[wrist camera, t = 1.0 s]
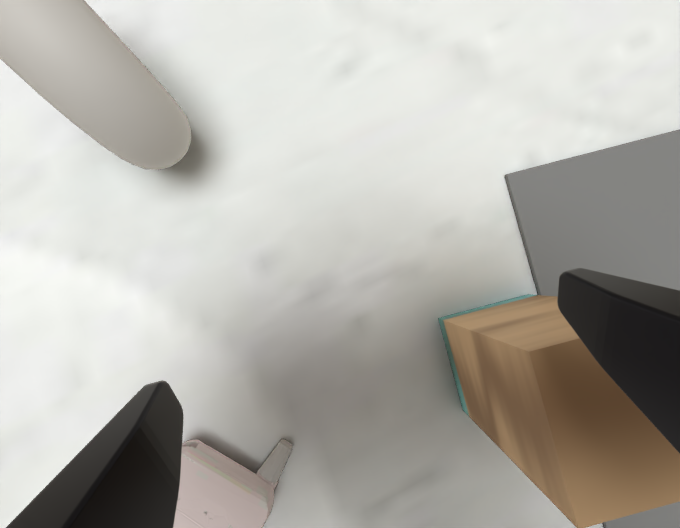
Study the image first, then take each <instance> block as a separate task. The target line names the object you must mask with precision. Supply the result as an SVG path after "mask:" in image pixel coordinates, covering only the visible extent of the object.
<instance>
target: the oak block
mask: <svg viewBox="0 0 680 528" xmlns="http://www.w3.org/2000/svg"><path fill="white" fill-rule="evenodd" d="M557 298H558V297H557V296H543V295H529V294H528V295H524V296H520V297H517V298H513V299H509V300H505V301H501V302H498V303H494V304H490V305H486V306H483V307H479V308H475V309H471V310H467V311H464V312H460V313H456V314H452V315H448V316H445V317H441V318H438V319H439V323H440V327H441V330H442V334H443V338H444V342H445V345H446V349H447V353H448V356H449V360H450V364H451V367H452V371H453V375H454V379H455V382H456V386H457V390H458V393H459V397H460V401H461V404H462V408H463V411H464V412H465V413H466V414H467V415H468V416H469V417H470V418H471V419H472V420H473V421H474V422H475V423H476V424H477V425H478V426H479V427H480V428H481V429H482V430H483V431H484V432H485V433H486V434H487V435H488V436H489V437H490V438H491V440H492V441H493V442H494V443H495V444H496V445H497V446H498V447H499V448H500V449H501V450H502V451H503V452H504V453H505V454H506V455H507V456H508V457H509V458H510V459H511V460H512V461H513V462H514V463H515V464H516V465H517V466H518V467H519V468H520V469H521V470H522V471H523V473H524V474H525V475H526V476H527V477H528V478H529V479H530V480H531V481H532V482H533V483H534V484H535V485H536V486H537V487H538V488H539V489H540V490H541V491H542V492H543V493H544V494H545V495H546V496H547V497H548V498H549V499H550V500H551V501H552V502H553V503H554V505H555V506H556V507H557V508H558V509H559V510H560V511H561V512H562V513H563V514H564V515H565V516H566V517H567V518H568V519H569V520H570V521H571V522H572V523H573V524H574V525H575V526H576V527H577V528H585V527H589V526H592V525H596V524H599V523H603V522H607V521H610V520H614V519H618V518H621V517H625V516H629V515H632V514H636V513H640V512H643V511H647V510H650V509H654V508H658V507H661V506H665V505H669V504H672V503H676V502H680V453H679V452H678V451H677V450H676V449H675V448H674V447H673V446H672V445H671V444H670V442H669V441H668V440H667V439H666V438H665V437H664V436H663V435H662V434H661V433H660V431H659V430H658V429H657V428H656V427H655V426H654V425H653V424H652V423H651V421H650V420H649V419H648V418H647V417H646V416H645V415H644V414H643V413H642V412H641V410H640V409H639V408H638V407H637V406H636V405H635V404H634V403H633V402H632V401H631V399H630V398H629V397H628V396H627V395H626V394H625V393H624V392H623V391H622V389H621V388H620V387H619V386H618V385H617V384H616V383H615V382H614V381H613V380H612V378H611V377H610V376H609V375H608V374H607V373H606V372H605V371H604V369H603V368H602V367H601V366H600V365H599V363H598V362H597V361H596V360H595V358H594V357H593V356H592V354H591V353H590V352H589V350H588V349H587V347H586V346H585V345H584V343H583V342H582V341H581V339H580V338H579V337H578V335H577V334H576V333H575V331H574V330H573V328H572V327H571V326H570V324H569V323H568V322H567V320H566V319H565V318H564V316H563V315H562V313H561V312H560V310H559V308H558V303H557Z"/></svg>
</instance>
